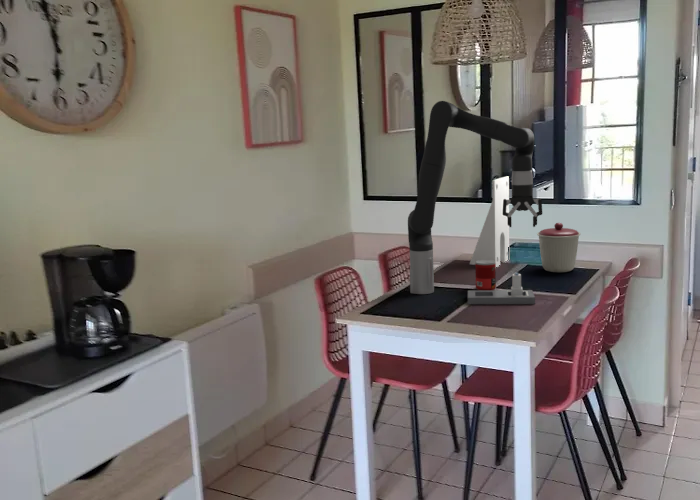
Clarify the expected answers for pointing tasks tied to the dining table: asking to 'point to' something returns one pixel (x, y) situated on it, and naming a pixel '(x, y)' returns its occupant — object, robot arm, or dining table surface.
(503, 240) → the white bracket plate
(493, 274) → the canned food
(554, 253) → the canister
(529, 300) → the panel
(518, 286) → the plug
